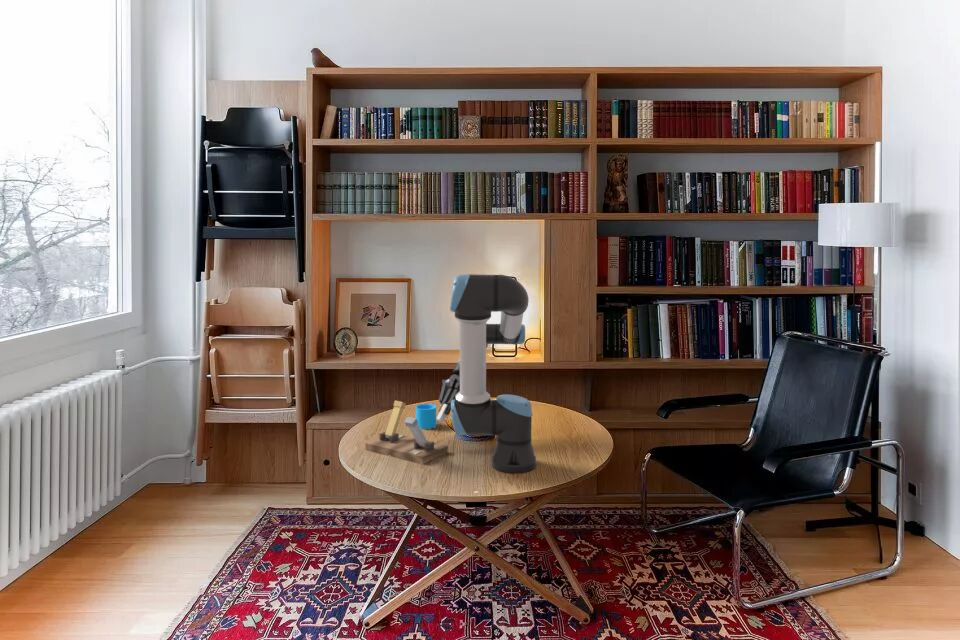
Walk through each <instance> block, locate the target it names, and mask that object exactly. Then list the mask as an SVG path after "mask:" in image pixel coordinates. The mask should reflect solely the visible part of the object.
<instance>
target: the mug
mask: <svg viewBox="0 0 960 640" xmlns="http://www.w3.org/2000/svg"><path fill="white" fill-rule="evenodd" d="M415 418H416V419H417V421H418V423H417V424H418V425H419V427H420V428H421V430H422V429H429V430H431V429H430V428H434V427H437V419H436V418H437V406H436V405H435V404H431V403H430V404H429V403H423V404H418V405H416V406H415ZM434 429H435V428H434Z"/></svg>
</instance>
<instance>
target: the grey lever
mask: <svg viewBox="0 0 960 640" xmlns="http://www.w3.org/2000/svg"><path fill="white" fill-rule="evenodd" d="M403 423H404V424H405V426H406V427H408V429H409V431H410V432H411V434H412V436H413V438H415V439H416V441H417V443H418V445H419V446H421V447H425V444H427V443H428V442H427V441H428V439H427V438H426V436H425V435H424V433H423V431H422V429H420V427H419V425H418V424H417V423H418V421H417V419H416V417H411V416H407V417H406V419H404V421H403Z"/></svg>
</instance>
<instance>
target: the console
mask: <svg viewBox="0 0 960 640" xmlns="http://www.w3.org/2000/svg"><path fill="white" fill-rule="evenodd" d="M385 433H386V431H384V432H381V433H379V437H377V438H375V439H372V440H370V441H367V442H365V450H366V451H370V452H373V453H377V452H378V453H377V454H381V453H382V455H385V454H386V455H385V456H389V455H390V457H394V458H396V457H398V458H397V459H400V458H401V459H402V460H404V459H405V460H404V461H408V460H409V462H413V463H417V464H420V463H421V465H424V464H426V463H428V462H429V463H430V462H431V461H433V460H435V459H437V458H439V457H441V456H444V455H445V454H447V453H448V450H449V449H448V445H446V444H443V443H438V442H435V441H429V440H427V442H428V443H427V444H425V447H421V446H419V445H418V443H417V441H416V439H415V438H414V437H411V436H408V435H403V434H399V433H395V434H394V435H392V436H390V439H387V438H385ZM430 460H431V461H430Z"/></svg>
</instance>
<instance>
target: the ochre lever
mask: <svg viewBox="0 0 960 640" xmlns="http://www.w3.org/2000/svg"><path fill="white" fill-rule="evenodd" d="M406 406H407V403H406V402H403V401H401V400H394V402H393V408H392V409H393V410H392V412H391V415H390V418H389V421H388V424H387V426H386V431H385V432H386V433H385V438H387V439H390V436H392V435H394V434H397V430H398V427H399V423H400V421H401V417H402V415H403V411H404V410H405V409H406Z"/></svg>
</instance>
